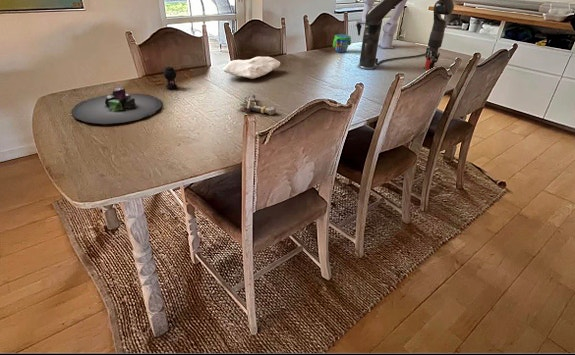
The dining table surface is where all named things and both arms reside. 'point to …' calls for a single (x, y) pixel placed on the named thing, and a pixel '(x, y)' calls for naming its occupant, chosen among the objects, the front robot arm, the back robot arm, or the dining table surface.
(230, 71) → the crumpled cloth
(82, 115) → the dark grey serving platter
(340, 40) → the snack cup
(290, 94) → the dining table surface
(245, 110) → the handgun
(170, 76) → the gumball machine
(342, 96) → the dining table surface
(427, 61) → the red cube
